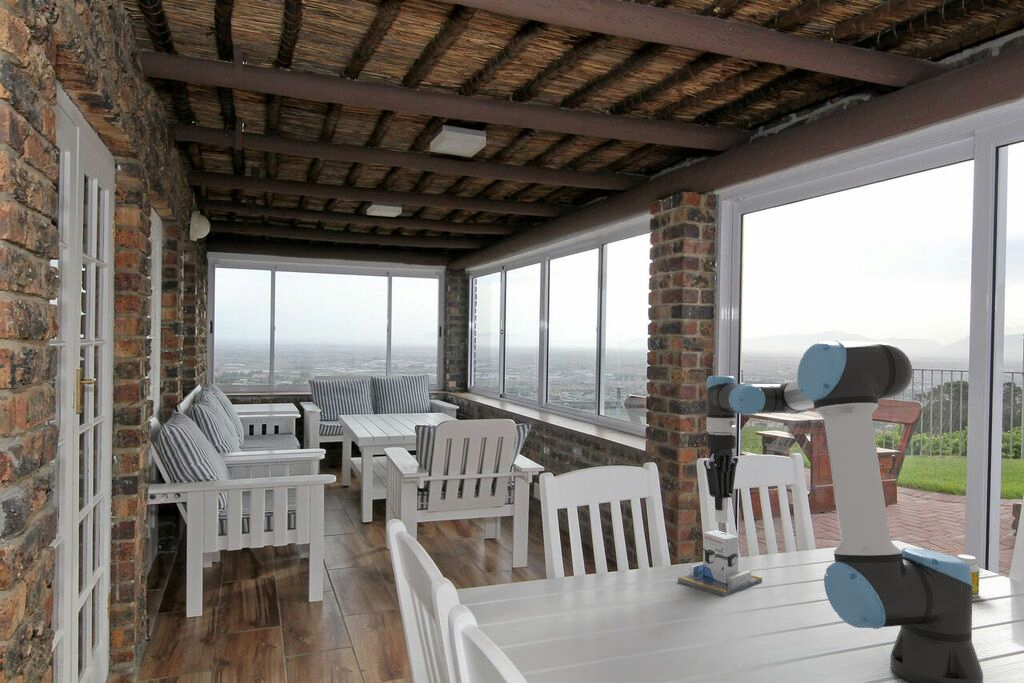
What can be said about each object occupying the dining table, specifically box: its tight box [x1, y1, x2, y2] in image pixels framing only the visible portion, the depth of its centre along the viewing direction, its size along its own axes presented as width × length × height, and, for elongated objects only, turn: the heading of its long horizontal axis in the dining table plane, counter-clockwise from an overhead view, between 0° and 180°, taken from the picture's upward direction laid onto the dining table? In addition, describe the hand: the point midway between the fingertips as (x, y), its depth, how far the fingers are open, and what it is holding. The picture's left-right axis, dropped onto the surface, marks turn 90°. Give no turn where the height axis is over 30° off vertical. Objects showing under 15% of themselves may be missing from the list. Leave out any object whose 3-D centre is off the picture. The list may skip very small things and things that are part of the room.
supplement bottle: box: [956, 554, 980, 598], centre depth 179 cm, size 5×5×10 cm
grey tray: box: [677, 561, 763, 597], centre depth 187 cm, size 18×14×4 cm
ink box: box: [702, 529, 739, 584], centre depth 187 cm, size 8×5×12 cm, turn 27°
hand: (721, 521), depth 186 cm, fingers closed
